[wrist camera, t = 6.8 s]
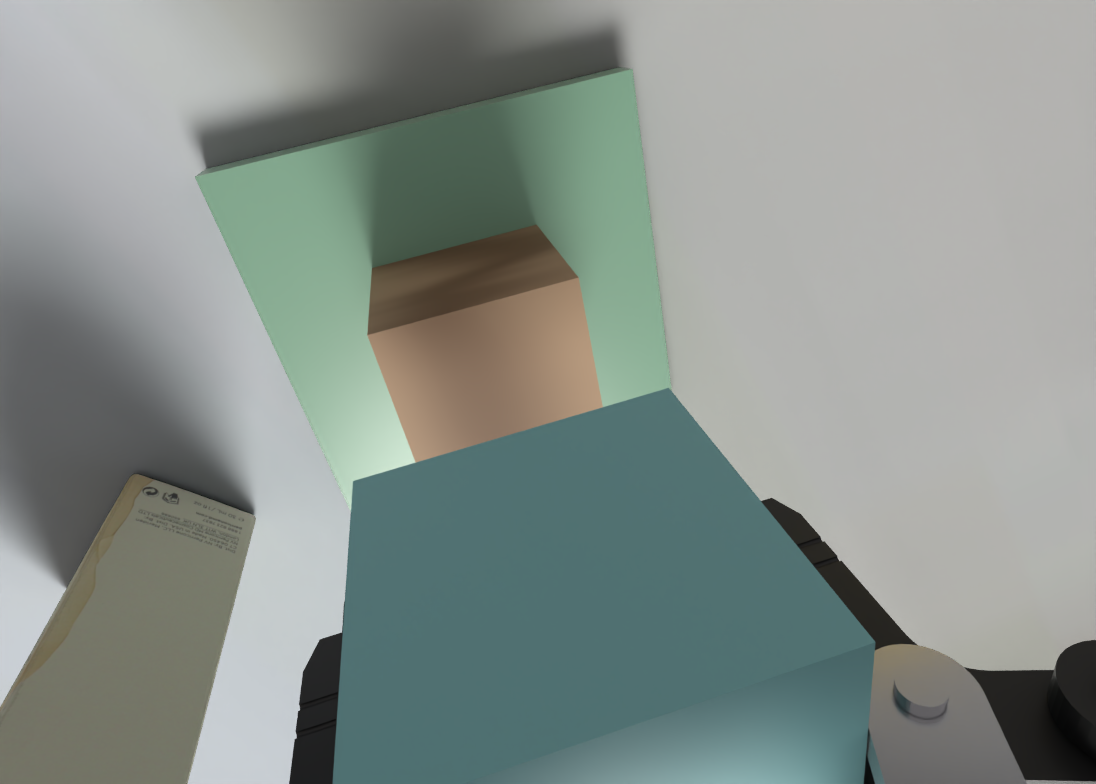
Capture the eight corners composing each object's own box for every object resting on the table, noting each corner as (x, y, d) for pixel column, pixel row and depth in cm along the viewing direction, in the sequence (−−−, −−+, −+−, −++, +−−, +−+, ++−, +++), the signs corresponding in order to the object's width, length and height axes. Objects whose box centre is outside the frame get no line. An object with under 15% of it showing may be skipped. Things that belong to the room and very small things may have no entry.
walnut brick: (536, 224, 20) (578, 277, 15) (567, 369, 22) (610, 449, 18) (371, 268, 19) (367, 335, 15) (422, 410, 22) (430, 503, 17)
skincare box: (134, 466, 22) (-101, 864, 11) (265, 514, 24) (166, 893, 13) (62, 596, 23) (-199, 1045, 13) (190, 631, 25) (51, 1048, 15)
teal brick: (668, 388, 10) (875, 641, 6) (695, 605, 13) (855, 894, 8) (353, 481, 10) (329, 829, 5) (445, 686, 12) (479, 1035, 8)
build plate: (619, 67, 19) (632, 69, 18) (663, 408, 25) (675, 424, 24) (206, 168, 18) (194, 176, 17) (355, 499, 24) (354, 520, 23)
